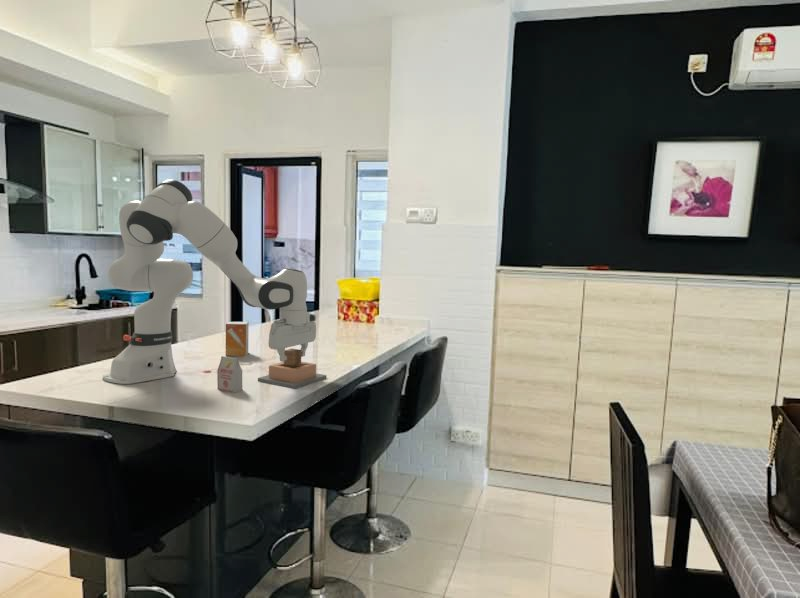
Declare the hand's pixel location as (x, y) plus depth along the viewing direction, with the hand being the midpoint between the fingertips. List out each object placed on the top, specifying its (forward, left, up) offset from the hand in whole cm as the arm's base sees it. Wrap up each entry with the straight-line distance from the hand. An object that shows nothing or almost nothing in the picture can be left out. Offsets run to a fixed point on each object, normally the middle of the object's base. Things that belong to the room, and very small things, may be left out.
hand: (292, 358), depth 174 cm
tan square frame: (0, 0, -7) cm, 7 cm away
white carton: (-20, +8, -7) cm, 23 cm away
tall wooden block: (0, 0, -6) cm, 6 cm away
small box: (+18, +44, -7) cm, 48 cm away
